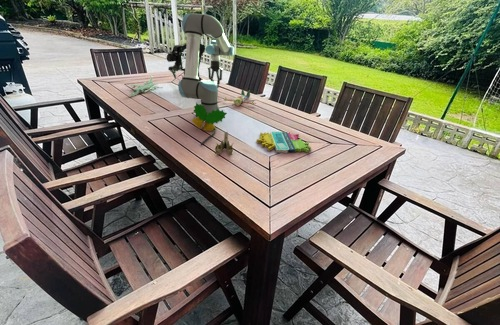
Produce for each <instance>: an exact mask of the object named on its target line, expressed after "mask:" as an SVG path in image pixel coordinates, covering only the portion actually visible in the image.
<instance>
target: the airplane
mask: <svg viewBox="0 0 500 325" xmlns="http://www.w3.org/2000/svg"><path fill="white" fill-rule="evenodd" d="M153 78H154V75H153V74H151V76H150V78H149V80H148V81H147V82H146V81H144V82H143V85H142V84H134V83H129V84H128V85H130V86H132V87H131V89H133V91H132V92H131V93H130V94H129V95H128V96H127V98H129V97H130V98H131V97H135V96H137V95H139V94H141V93H148V92H150V91H151V90H152V92H154V91H156V90H157V89H163V88H164V87H162V86H157V85H158V83H154V82H153ZM155 85H156V86H155Z"/></svg>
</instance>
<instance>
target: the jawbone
mask: <svg viewBox="0 0 500 325" xmlns="http://www.w3.org/2000/svg"><path fill="white" fill-rule="evenodd" d="M223 135H224V136H223V140H222V139H221V142H220V144H218V142H215V144H216V146H215V148H214V149H215V152H214V154H215V155H217V156H218V155H220V153H221V152H223V151H224V150H226V152H227V153H228V155H229V156H233V155H234V154H233V153H234V148H233V144H234V143H230V140H228V139H229V138H228V137H229V136H228V135H229V133H228V131H226V132H224V134H223Z"/></svg>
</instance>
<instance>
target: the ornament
mask: <svg viewBox="0 0 500 325" xmlns="http://www.w3.org/2000/svg"><path fill="white" fill-rule="evenodd" d="M219 110H220V108H219V109H217V110H216V111H214V110H212V112H211V113H208V112H206V109H204V106H201V103H198V102H195V105H194V106H193V112H194V113H195V118H192V119H191V122H192V123H193V125H195V127H197V128H198V129H202V130H203V131H206V132H214V128H215V129H216V126H215V124H218V123H219V122H223V119H226V115H227V114H228V113H227V112H224V110H223V109H221V110H220V111H219ZM207 113H208V115H207ZM214 123H215V124H214Z"/></svg>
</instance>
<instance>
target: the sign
mask: <svg viewBox="0 0 500 325" xmlns="http://www.w3.org/2000/svg"><path fill="white" fill-rule="evenodd" d="M299 136H300V135H299V134H298V133H296V134H294V133H291V132H287V131H270V132H264V133H263V132H260V133H259V139H258V138H257V139H256V143H257V144H261V148H263V147H264V148H265V149H267V151H268V152H271V151H272V150H273V149H275V152H276V153H283V154H285V153H287V154H288V153H290V154H293V153H296V152H298V153H301V152H305V153H310V151H311V150H312V149H311V148H312V146H309V142H304V141H303V139H302V138H299Z"/></svg>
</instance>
